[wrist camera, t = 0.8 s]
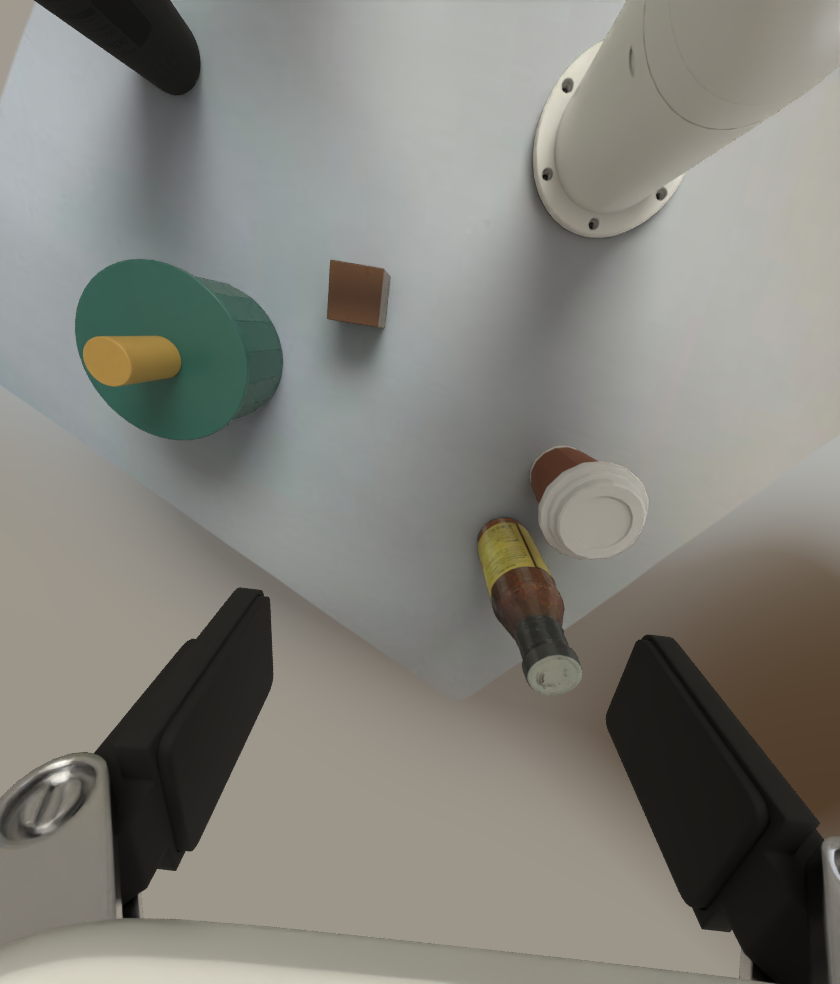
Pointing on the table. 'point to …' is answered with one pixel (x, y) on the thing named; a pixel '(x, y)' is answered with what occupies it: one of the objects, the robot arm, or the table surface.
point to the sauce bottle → (528, 605)
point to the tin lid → (162, 349)
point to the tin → (253, 344)
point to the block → (358, 294)
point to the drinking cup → (138, 37)
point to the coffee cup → (587, 503)
